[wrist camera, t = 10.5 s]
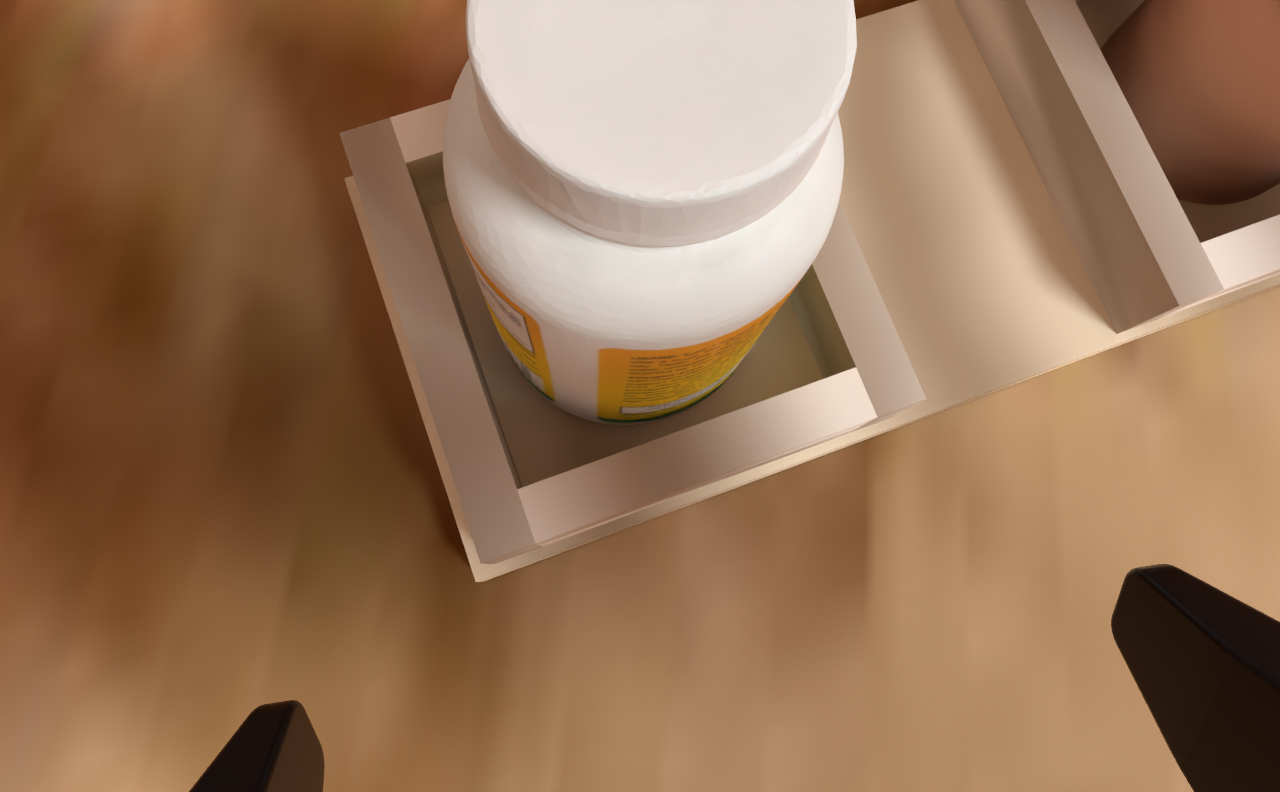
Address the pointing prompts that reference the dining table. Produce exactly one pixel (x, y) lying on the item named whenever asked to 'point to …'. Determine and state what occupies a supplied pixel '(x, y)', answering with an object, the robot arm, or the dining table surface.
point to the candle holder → (879, 255)
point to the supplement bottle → (644, 185)
